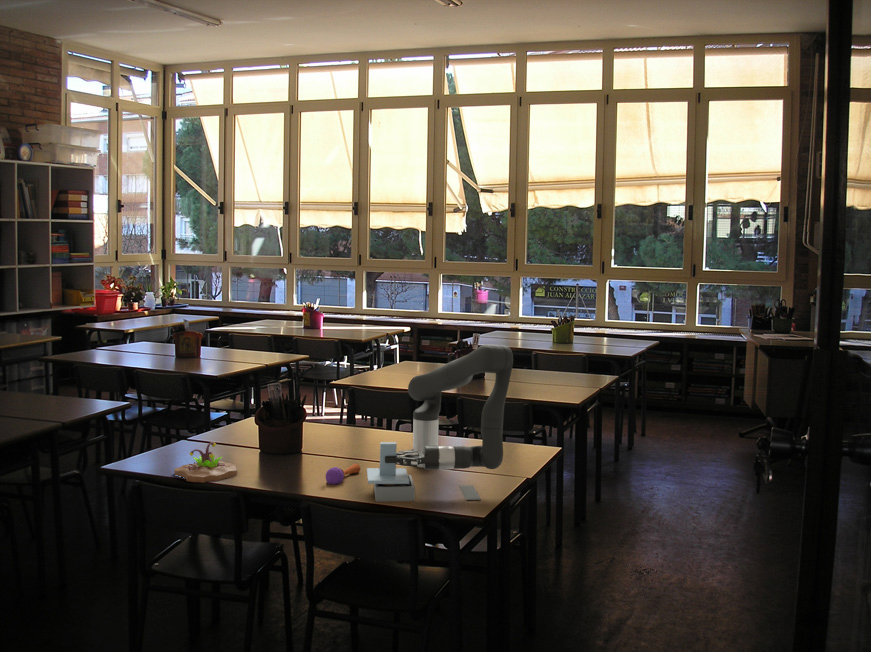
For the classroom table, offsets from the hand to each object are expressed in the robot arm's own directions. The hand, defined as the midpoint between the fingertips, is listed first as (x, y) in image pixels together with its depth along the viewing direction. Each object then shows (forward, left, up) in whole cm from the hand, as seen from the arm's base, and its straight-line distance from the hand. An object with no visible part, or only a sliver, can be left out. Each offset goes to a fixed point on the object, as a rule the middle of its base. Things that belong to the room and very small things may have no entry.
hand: (384, 458), depth 252 cm
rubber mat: (-2, +23, -12) cm, 26 cm away
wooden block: (-3, +1, -12) cm, 12 cm away
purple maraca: (-21, -13, -13) cm, 28 cm away
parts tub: (0, +3, -12) cm, 13 cm away
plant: (-31, -59, -13) cm, 68 cm away
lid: (0, +1, -6) cm, 6 cm away
